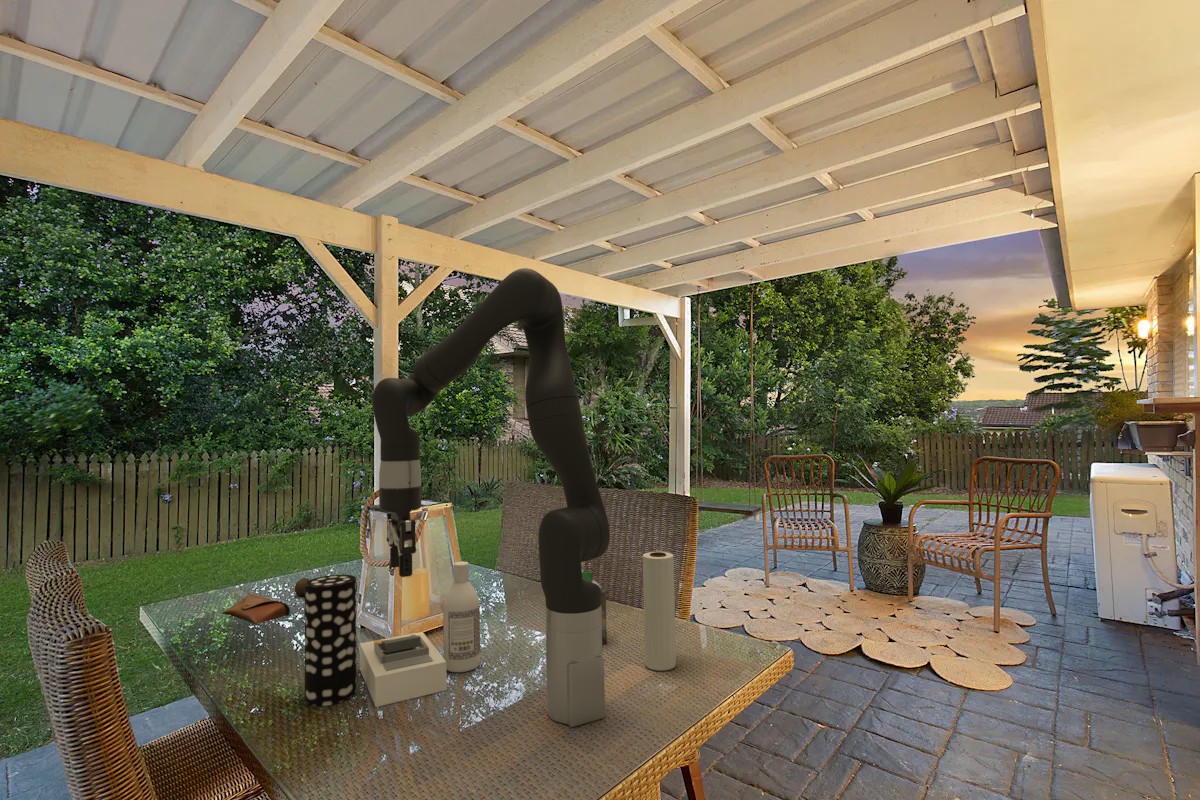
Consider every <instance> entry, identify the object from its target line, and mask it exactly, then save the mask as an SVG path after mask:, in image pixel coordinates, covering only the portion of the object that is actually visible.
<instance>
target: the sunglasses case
mask: <svg viewBox="0 0 1200 800" xmlns="http://www.w3.org/2000/svg"><path fill="white" fill-rule="evenodd" d="M290 613H291V610H290V606H289V605H288V604H287V603H285V602H283V601H280V600H274V599H271V598H269V597H264V596H259V595H257V594H254V593H251V592H249V593H248V595H246V596H245V597H244V598H242V599H241V600H239V601H238V602H236V603H235V604H233V605H232V606H231V607H229V608H227V609H226V610H224V611H222V612H221V614H223V615H227V616H232V617H236V618H239V619H242V620H245V621H247V622H250V623H253V624H255V625H258V624H262V623H267V622H270V621H273V620H277V619H280V618H283V617H287V616H290Z"/></svg>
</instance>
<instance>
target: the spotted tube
mask: <svg viewBox="0 0 1200 800" xmlns="http://www.w3.org/2000/svg"><path fill="white" fill-rule="evenodd" d="M356 583H357V577H356V576H355V575H352V574H330V575H324V576H319V577H314V578H312V579H309V581H307V582H305V596H304V701H305V702H304V703H306V704H307V705H309V706H313V707H325V706H331V705H337V704H340V703H342V702H345V701H347V700H349V699H350V698H351V699H352V697H354V696H355V695H356V693H357V592H356Z"/></svg>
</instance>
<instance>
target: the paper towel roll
mask: <svg viewBox="0 0 1200 800" xmlns="http://www.w3.org/2000/svg"><path fill="white" fill-rule="evenodd" d="M642 577H643V578H642V584H643V585H642V586H643V623H644V624H643V627H644V628H643V631H644V634H643V636H644V637H643V638H644V642H643V643H644V665H645V667H646V668H648V669H649V670H652V671H657V672H658V671H662V672H663V671H669V670H672V669H674V668H675V667H676V665H677V658H676V657H677V654H676V611H675V610H676V606H675V605H676V604H675V601H676V599H675V562H674V554H673V553H671V552H667V551H662V550H659V549H655V551H651V552H650V551H649V552H645V553H643V554H642Z"/></svg>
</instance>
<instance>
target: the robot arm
mask: <svg viewBox="0 0 1200 800" xmlns="http://www.w3.org/2000/svg"><path fill="white" fill-rule="evenodd" d="M562 302H563V301H562V297H561V294H560V292H559V290H558V288H557V287H556V286H555V284H554V283H552V282H551V281H550V280H549V279H547V277H545V276H543V275H542V274H541V273H540V272H538V271H536V270H534V269H532V268H529V267H528V268H527V267H525V268H518V269H516V270H514V271H512V272H511V273H509V274H508V275H507V276H505V277H504V279H502V280H501V281H500V282H499V283H498V285H497V286H496V287H495V288H493V290H492V291H491V292H490V293H489V294H488V295H487V296H486V297H485V299H484V300H483V301H482V302H481V303H480V304H479V305H478V306H477V307H476V308H475V309H474V310H473V311H472V312H471V313H470V314H469V316H468V317H466V319H465V320H464V321H463V322H461V324H460V325H458V326H457V328H456V329H454V330H453V331H452V332H451V333H450V334H448V335H447V336H446V337H445V338H444V339H442V340H441V341H439V343H437V344H436V345H435V346H433V347H432V348H431V349H429V350H428V351H427V352H426V353H425V354H422V355H421V356H420V357H419V358H418V359H417V361H416V362H415V363H414V366H413V371H414V372H413V373H412V374H411V375H409V376H408V377H407V378H405V379H404V378H398V377H397V378H396V377H387V378H384V379H381V380H380V381H379V382H378V383H377V384H376V385H375V388H374V390H373V392H372V397H371V406H372V412H373V416H374V421H375V424H376V428H377V431H378V435H379V437H380V439H379V440H380V444H379V445H380V450H379V451H380V452H379V453H380V462H379V463H380V465H379V472H378V480H379V481H378V487H379V488H378V490H379V491H378V492H379V493H378V495H379V498H378V505H379V506H378V509H379V510H380V511H381V512H384V513H386V542H387V546H388V547H389V566H390V567H391V568H393V569H395V568H398V575H399V576H400V577H401V578H405V577H406V578H407V577H411V576H412V575H413V556H414V554H416V552H417V547H416V546H417V545H416V543H417V542H416V537H417V536H416V535H417V534H416V523H417V522H416V519H415V518H414V519H413V518H411V512H412V511H418V510H419V509H421V507H422V468H421V461H420V456H421V455H420V435H419V433H418V431H417V430H415V429H413V428H411V427H410V424H409V418H408V417H409V416H413V415H416V414H418V413H420V412H421V411H423V410H424V409H425V408H427V406H429V405H430V404H431V402H432V401H434V399H435V398H437V396H438V395H439V393H440V392H441V391H442V390H443V389H444V388H445V387H447V386H448V385H449V384H451V383H452V382H454V381H455V380H457V378H459V377H460V376H462V375H463V374H464V373H465V372H466V371H468V370H469V368H471V367H472V366H473V364H474V363H475V362H476V360H478V358H479V356H480V354H481V353H482V351H483V350H484V348H485V347H486V346H487V344H488V343H489V342H490V341H491V339H492V338H494V336H495V335H496V334H498V333H499V332H500V331H502V330H504V329H505V328H507V327H509V326H510V325H512V324H514V323H516V322H518V323H519V324H520V325H521V326H522V330H523V332H524V337H525V341H526V346H527V350H528V358H529V364H528V372H527V378H526V383H525V392H524V393H525V394H524V400H525V402H524V403H525V407H526V414H527V419H528V426H529V430H530V433H531V436H532V439H533V441H534V443H535V444H536V446H537V448H538V449H539V450H540V452H541V453H542V454H543V456H544V457H545V458H546V460H547V461H548V462H549V464H550V465H551V466H552V468H553V470H554V471H555V473H556V474H557V476H558V478H559V480H560V483H561V485H562V489H563V492H564V497H565V501H566V502H565V503H566V506H567V507H562V508H556V509H552V510H550V511H548V512H547V513H545V514H544V516H543V517H542V519H541V520H540V523H539V529H538V536H537V537H538V540H537V541H538V559H539V573H540V585H541V588H542V592H543V595H544V598H545V599H544V600H545V655H546V659H545V661H546V663H545V664H546V665H545V666H546V669H545V670H546V705H547V706H546V713H547V716H548V717H549V718H550V719H551V720H553V721H554V722H557V723H561V724H565V725H568V726H569V727H570V728H574V727H577V726H580V725H584V724H586V723H590V722H593V721H594V722H595V721H597V720H601V719H604V718H605V717H606V699H605V698H606V695H605V693H606V688H605V686H606V685H605V658H604V657H603V645H602V607H601V604H602V599H601V589H600V587H599V586H598V585H597V584H595V583H592V582H588V581H586V580H584V577H582V572H583V571H582V563H585V562H587V561H591V560H595V559H598V558H600V557H601V556H603V555H604V554H605V553H606V552H607V550H608V548H609V545H610V539H611V532H610V531H611V530H610V523H609V519H608V515H607V514H608V513H607V512H606V507H605V505H604V502H603V498H602V496H601V492H600V489H599V485H598V483H597V479H596V475H595V472H594V467H593V463H592V459H591V455H590V451H589V446H588V443H587V442H588V441H587V437H586V434H585V433H586V432H585V428H584V427H585V426H584V421H583V416H582V411H581V407H580V401H579V395H578V392H577V388H576V383H575V380H574V379H575V378H574V374H573V370H572V365H571V361H570V357H569V353H568V347H567V342H566V333H565V322H564V310H563V309H564V308H563V303H562ZM405 545H407V546H405Z"/></svg>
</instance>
